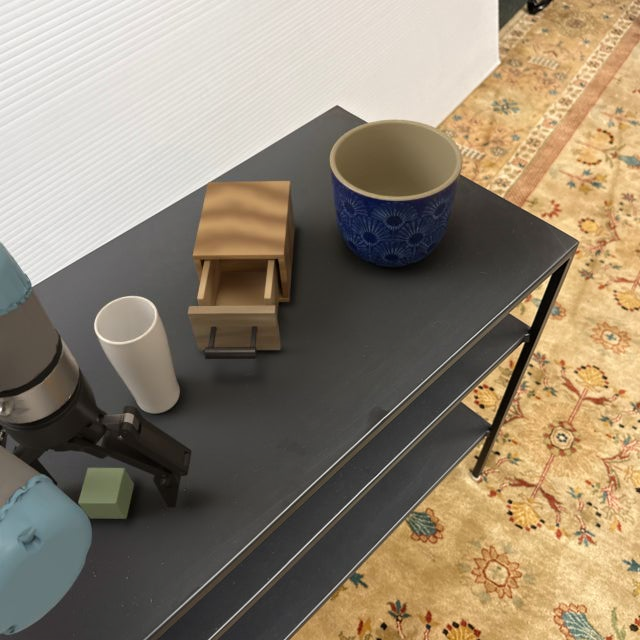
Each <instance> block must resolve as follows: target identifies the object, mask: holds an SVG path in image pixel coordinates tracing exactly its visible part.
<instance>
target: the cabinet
mask: <svg viewBox="0 0 640 640" xmlns="http://www.w3.org/2000/svg"><path fill="white" fill-rule="evenodd" d="M291 185H292V184H291V181H290V180H265V181H264V180H261V181H260V180H259V181H258V180H257V181H256V180H255V181H209V182H207V186H206V191H205V196H204V201H203V205H202V209H201V214H200V220H199V223H198V227H197V228H198V229H197V233H196V238H195V242H194V247H193V251H192V258H193V262H194V267H195V270H196V274H197V277H198V280H199V282H200V281H201V276H202V271H203V266H204V261H205V259H278V261H279V269H280V277H281V281H280V292H279V303H290V300H291V287H292V286H291V284H292V272H293V260H294V259H293V258H294V244H295V234H296V233H295V232H296V230H295V229H296V227H295V226H296V225H295V217H294V216H295V215H294V207H293V206H294V205H293V195H292V186H291Z"/></svg>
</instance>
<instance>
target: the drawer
mask: <svg viewBox="0 0 640 640" xmlns="http://www.w3.org/2000/svg"><path fill="white" fill-rule="evenodd" d="M280 281H281V277H280V269H279V261H278V259H205V261H204V266H203V271H202V276H201V281H199V287H198V292H197V297H196V300H197V303H198V305H189V306H188V310H187V316H188V319H189V322H190V325H191V329H192V332H193V335H194V338H195V341H196V345H197V348H198V351H204V353H203V354H204V355H203V356H204V358H205V359H206V360H255V359H257V357H258V351H281V346H282V342H281V334H280V327H279V321H278V319H279V318H278V315H279V303H280V302H279V292H280Z"/></svg>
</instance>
